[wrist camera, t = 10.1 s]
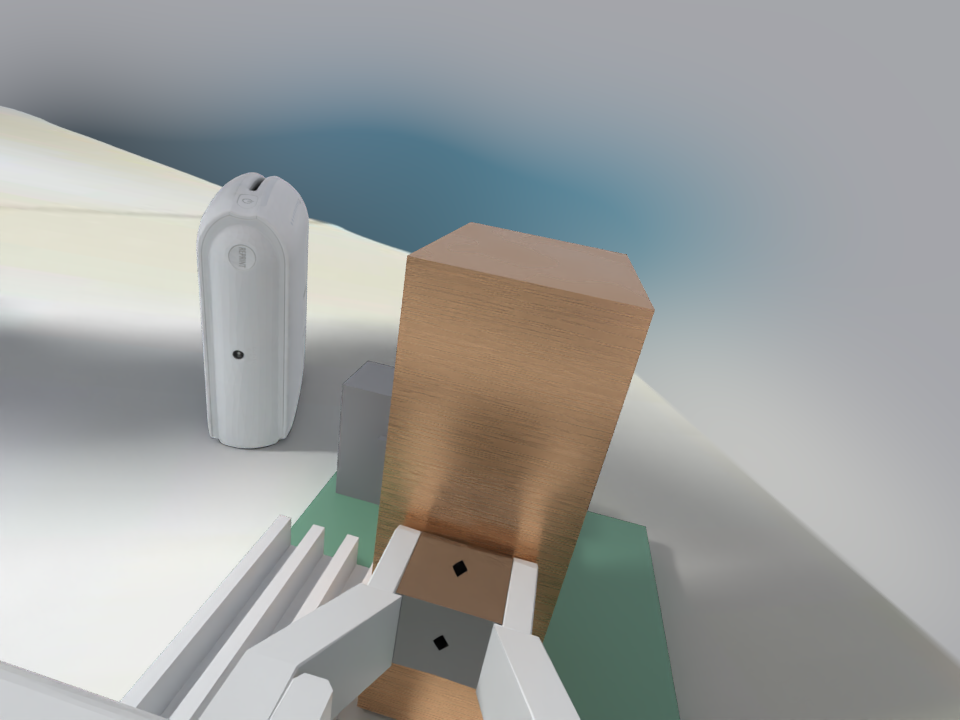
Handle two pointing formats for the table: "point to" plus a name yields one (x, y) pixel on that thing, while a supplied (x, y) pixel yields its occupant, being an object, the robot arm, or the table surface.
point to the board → (349, 560)
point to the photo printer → (253, 308)
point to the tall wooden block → (502, 413)
